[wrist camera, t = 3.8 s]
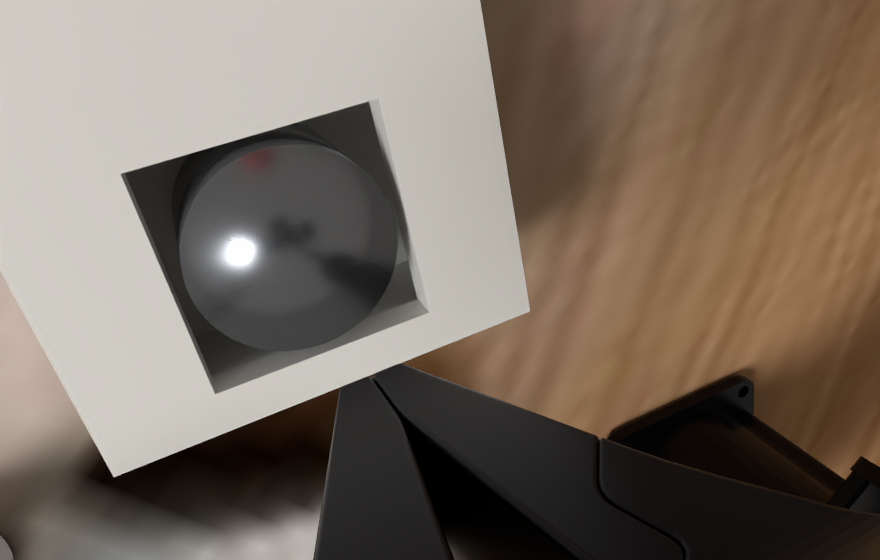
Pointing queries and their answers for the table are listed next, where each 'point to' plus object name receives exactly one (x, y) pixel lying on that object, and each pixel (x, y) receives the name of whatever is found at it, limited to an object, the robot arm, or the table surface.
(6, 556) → the photo printer
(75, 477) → the table surface
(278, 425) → the table surface
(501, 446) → the robot arm
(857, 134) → the table surface
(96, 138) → the console
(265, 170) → the plug
